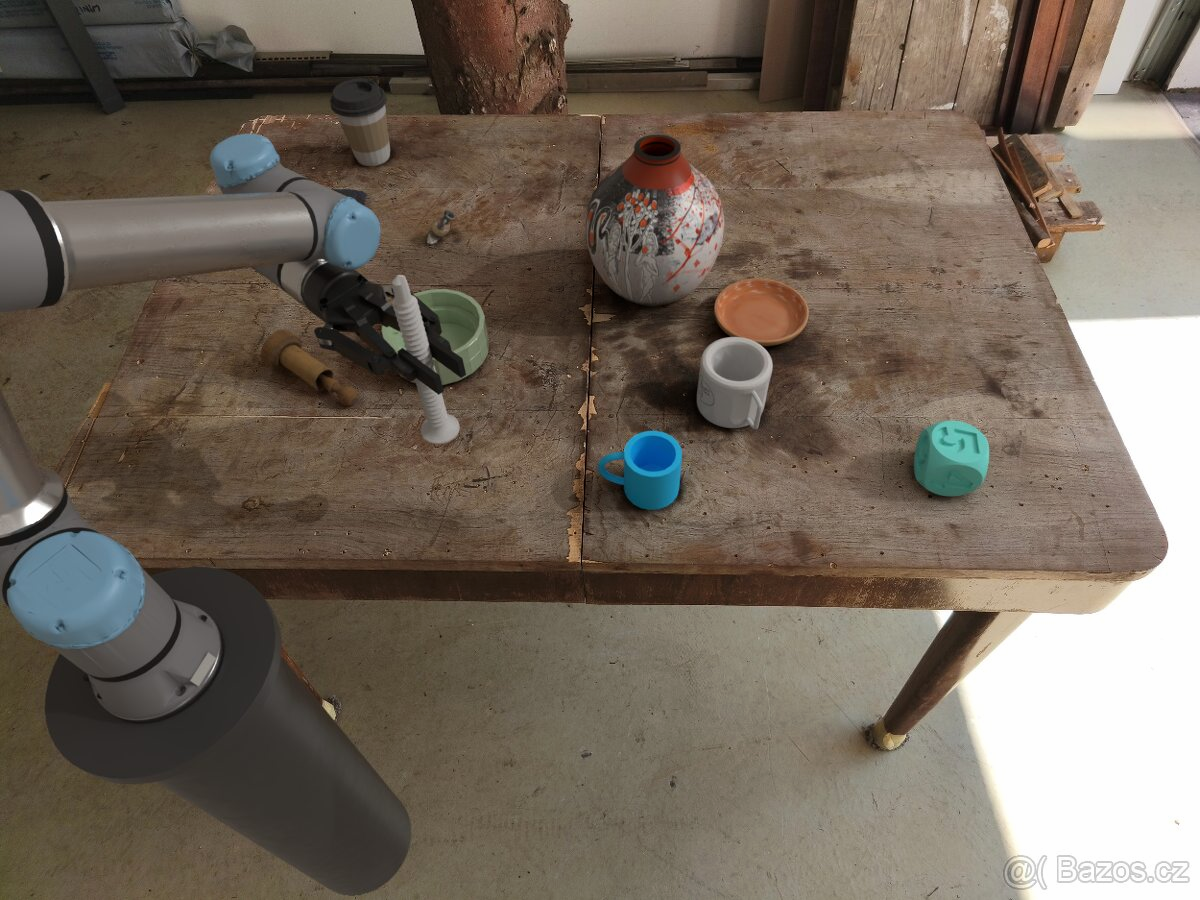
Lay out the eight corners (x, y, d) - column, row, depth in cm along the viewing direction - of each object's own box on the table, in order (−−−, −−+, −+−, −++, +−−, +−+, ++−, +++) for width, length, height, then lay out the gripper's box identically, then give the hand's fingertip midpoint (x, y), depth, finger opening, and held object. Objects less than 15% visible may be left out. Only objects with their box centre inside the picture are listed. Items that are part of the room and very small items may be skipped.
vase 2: (571, 318, 142) (562, 178, 120) (606, 237, 155) (604, 98, 133) (702, 342, 138) (718, 201, 115) (727, 256, 151) (745, 116, 129)
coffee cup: (410, 155, 174) (395, 88, 162) (368, 178, 169) (348, 111, 157) (378, 136, 179) (361, 69, 167) (336, 158, 174) (315, 91, 162)
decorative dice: (972, 500, 117) (992, 467, 110) (915, 493, 118) (932, 460, 111) (966, 456, 122) (985, 422, 115) (911, 450, 122) (927, 416, 116)
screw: (411, 254, 87) (428, 281, 84) (450, 409, 107) (465, 434, 104) (367, 270, 86) (382, 297, 83) (415, 423, 106) (429, 450, 103)
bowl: (385, 391, 132) (375, 361, 127) (398, 321, 142) (389, 290, 137) (486, 387, 132) (480, 357, 127) (492, 317, 142) (486, 287, 137)
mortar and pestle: (270, 370, 136) (347, 425, 131) (253, 349, 130) (333, 406, 125) (298, 343, 138) (374, 395, 133) (283, 321, 132) (362, 375, 127)
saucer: (699, 337, 138) (700, 324, 136) (731, 280, 147) (733, 268, 145) (789, 365, 134) (792, 352, 131) (817, 305, 142) (820, 292, 140)
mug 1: (680, 466, 122) (683, 432, 115) (677, 512, 117) (680, 479, 110) (601, 460, 123) (600, 426, 116) (595, 505, 118) (593, 472, 111)
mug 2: (684, 390, 131) (688, 346, 123) (743, 371, 133) (751, 327, 125) (723, 451, 123) (730, 409, 115) (785, 430, 125) (796, 387, 117)
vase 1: (462, 231, 158) (457, 205, 153) (454, 248, 154) (449, 222, 150) (435, 228, 158) (430, 202, 153) (427, 246, 155) (421, 220, 150)
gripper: (383, 278, 108) (504, 361, 98) (284, 341, 101) (403, 438, 91) (369, 232, 102) (497, 315, 92) (262, 296, 95) (388, 394, 85)
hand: (450, 376), depth 92 cm, fingers closed on screw, 3 cm apart
